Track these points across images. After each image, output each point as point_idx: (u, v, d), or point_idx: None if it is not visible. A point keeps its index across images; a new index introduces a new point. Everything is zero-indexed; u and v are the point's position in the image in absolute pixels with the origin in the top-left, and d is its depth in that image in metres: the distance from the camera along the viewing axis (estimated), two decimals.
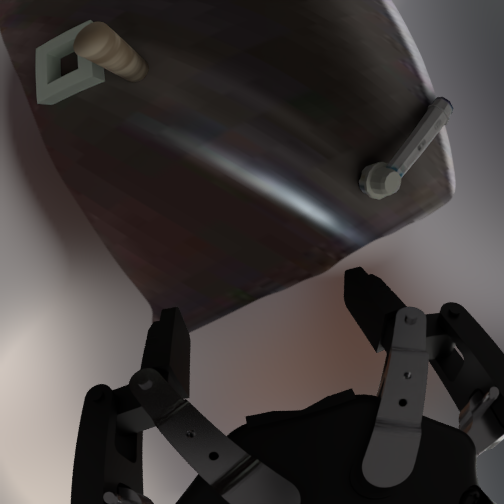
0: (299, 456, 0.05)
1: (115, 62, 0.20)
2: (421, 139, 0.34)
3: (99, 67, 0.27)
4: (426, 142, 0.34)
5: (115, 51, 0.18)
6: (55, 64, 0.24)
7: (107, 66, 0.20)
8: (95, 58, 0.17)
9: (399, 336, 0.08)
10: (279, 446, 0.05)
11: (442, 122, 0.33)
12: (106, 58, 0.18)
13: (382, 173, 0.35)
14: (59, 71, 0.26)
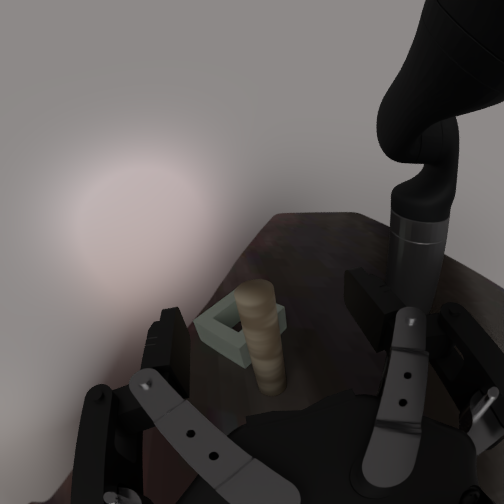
0: (298, 456, 0.05)
1: (255, 340, 0.26)
2: None
3: None
4: None
5: (260, 325, 0.25)
6: (234, 316, 0.44)
7: (247, 338, 0.27)
8: (241, 311, 0.25)
9: (399, 336, 0.08)
10: (279, 446, 0.05)
11: None
12: (249, 324, 0.25)
13: None
14: (231, 325, 0.44)
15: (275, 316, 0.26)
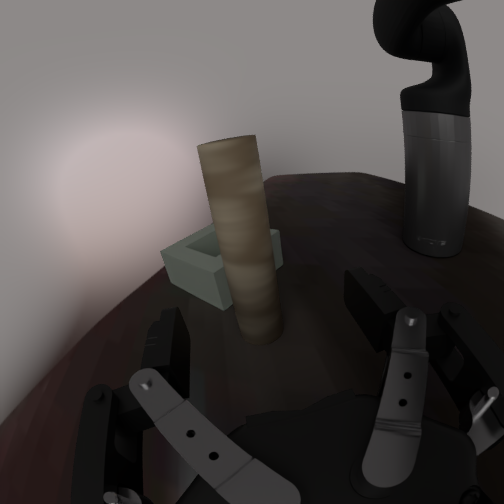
0: (299, 456, 0.05)
1: (228, 221, 0.17)
2: None
3: None
4: None
5: (235, 188, 0.16)
6: (215, 252, 0.35)
7: (216, 223, 0.18)
8: (205, 166, 0.16)
9: (399, 336, 0.08)
10: (279, 446, 0.05)
11: None
12: (218, 187, 0.16)
13: None
14: None
15: (259, 180, 0.17)
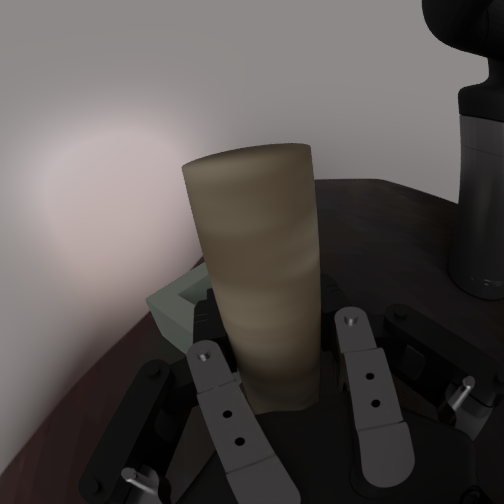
0: (298, 456, 0.05)
1: (251, 327, 0.08)
2: None
3: None
4: None
5: (269, 270, 0.07)
6: None
7: (226, 321, 0.09)
8: (201, 217, 0.07)
9: (345, 339, 0.08)
10: (279, 446, 0.05)
11: None
12: (231, 265, 0.07)
13: None
14: None
15: (316, 244, 0.08)
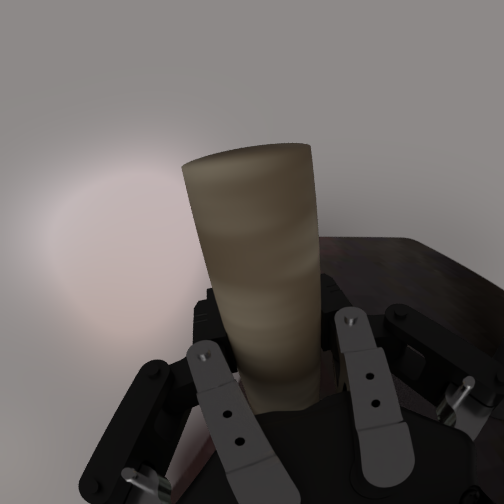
0: (298, 456, 0.05)
1: (251, 327, 0.08)
2: None
3: None
4: None
5: (270, 270, 0.07)
6: None
7: (226, 321, 0.09)
8: (201, 216, 0.07)
9: (345, 339, 0.08)
10: (279, 446, 0.05)
11: None
12: (231, 265, 0.07)
13: None
14: None
15: (316, 244, 0.08)
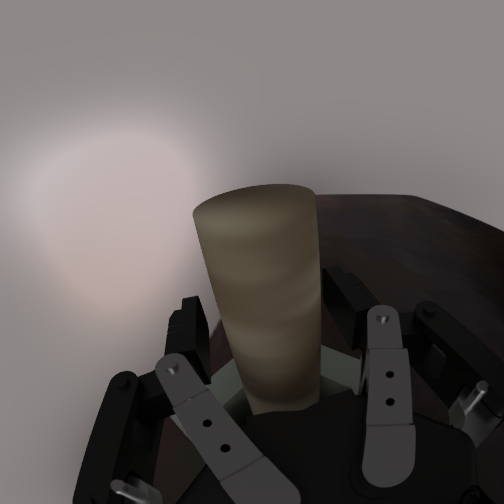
0: (298, 456, 0.05)
1: (257, 357, 0.09)
2: None
3: None
4: None
5: (275, 312, 0.08)
6: None
7: (234, 350, 0.10)
8: (212, 264, 0.08)
9: (374, 336, 0.08)
10: (279, 446, 0.05)
11: None
12: (240, 307, 0.08)
13: None
14: None
15: (317, 284, 0.09)
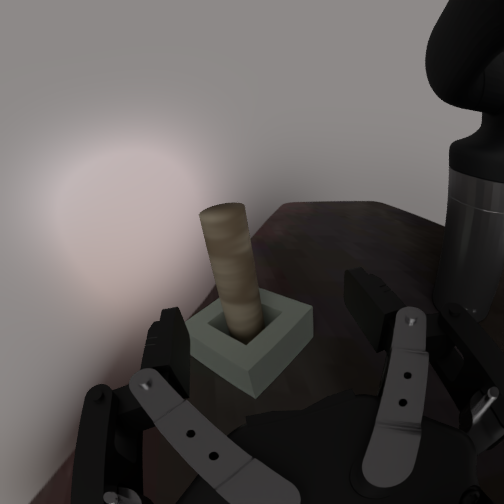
0: (298, 456, 0.05)
1: (223, 274, 0.23)
2: None
3: (267, 374, 0.23)
4: None
5: (229, 251, 0.22)
6: None
7: (215, 273, 0.23)
8: (206, 233, 0.22)
9: (399, 336, 0.08)
10: (279, 446, 0.05)
11: None
12: (216, 249, 0.22)
13: None
14: None
15: (247, 242, 0.23)
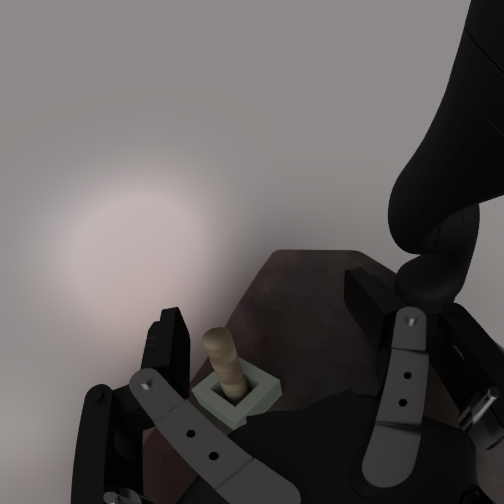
0: (299, 456, 0.05)
1: (219, 371, 0.34)
2: None
3: None
4: None
5: (222, 362, 0.33)
6: None
7: (214, 369, 0.35)
8: (207, 352, 0.33)
9: (399, 336, 0.08)
10: (279, 446, 0.05)
11: None
12: (214, 361, 0.33)
13: None
14: None
15: (233, 355, 0.34)
